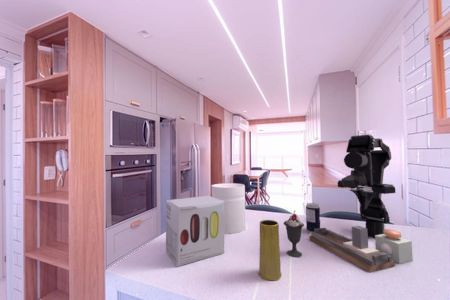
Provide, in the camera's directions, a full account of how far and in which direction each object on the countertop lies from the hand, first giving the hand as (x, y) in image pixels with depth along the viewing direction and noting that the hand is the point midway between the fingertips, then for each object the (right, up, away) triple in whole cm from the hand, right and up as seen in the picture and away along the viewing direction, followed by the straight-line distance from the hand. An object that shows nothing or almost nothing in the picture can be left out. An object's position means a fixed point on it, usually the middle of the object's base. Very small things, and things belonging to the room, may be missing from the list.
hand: (364, 209), depth 75 cm
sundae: (-29, -13, -8) cm, 33 cm away
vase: (-40, -13, -19) cm, 46 cm away
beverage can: (-14, -14, +13) cm, 23 cm away
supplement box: (-63, -14, -6) cm, 65 cm away
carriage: (-9, -11, -11) cm, 18 cm away
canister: (-51, -15, +19) cm, 56 cm away
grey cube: (+2, -13, -10) cm, 16 cm away
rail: (-11, -13, -6) cm, 18 cm away
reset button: (+2, -9, -10) cm, 14 cm away
